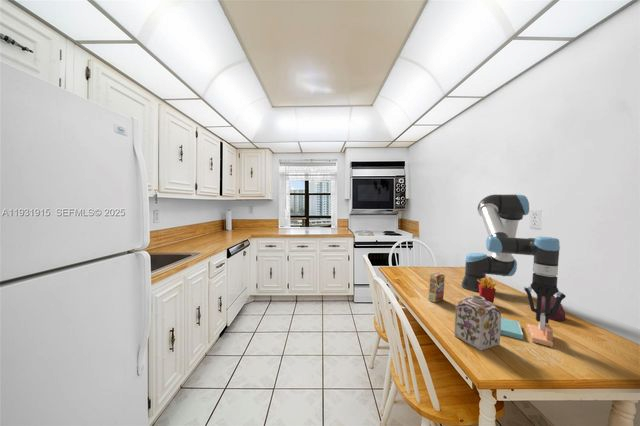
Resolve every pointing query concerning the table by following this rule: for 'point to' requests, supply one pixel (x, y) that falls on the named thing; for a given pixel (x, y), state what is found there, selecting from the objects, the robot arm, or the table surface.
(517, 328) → the ticket
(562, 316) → the vegetable
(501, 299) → the table surface
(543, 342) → the stub
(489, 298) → the french fries
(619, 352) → the table surface
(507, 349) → the table surface
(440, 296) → the candy box
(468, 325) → the decorative jar
